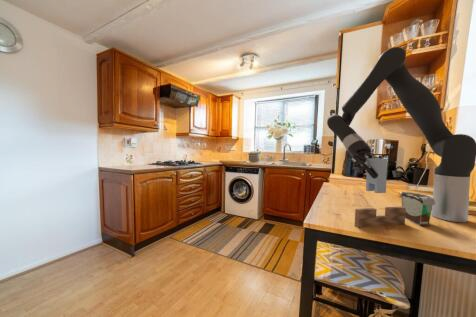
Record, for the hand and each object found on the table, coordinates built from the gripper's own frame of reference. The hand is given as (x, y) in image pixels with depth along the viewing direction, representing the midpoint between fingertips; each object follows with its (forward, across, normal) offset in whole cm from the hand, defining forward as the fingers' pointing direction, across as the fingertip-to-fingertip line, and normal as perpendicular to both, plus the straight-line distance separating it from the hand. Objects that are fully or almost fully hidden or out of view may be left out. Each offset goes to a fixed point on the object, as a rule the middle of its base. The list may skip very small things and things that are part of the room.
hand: (381, 176), depth 69 cm
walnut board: (+15, -4, +9) cm, 18 cm away
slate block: (+3, 0, +6) cm, 6 cm away
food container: (+15, +14, +9) cm, 22 cm away
